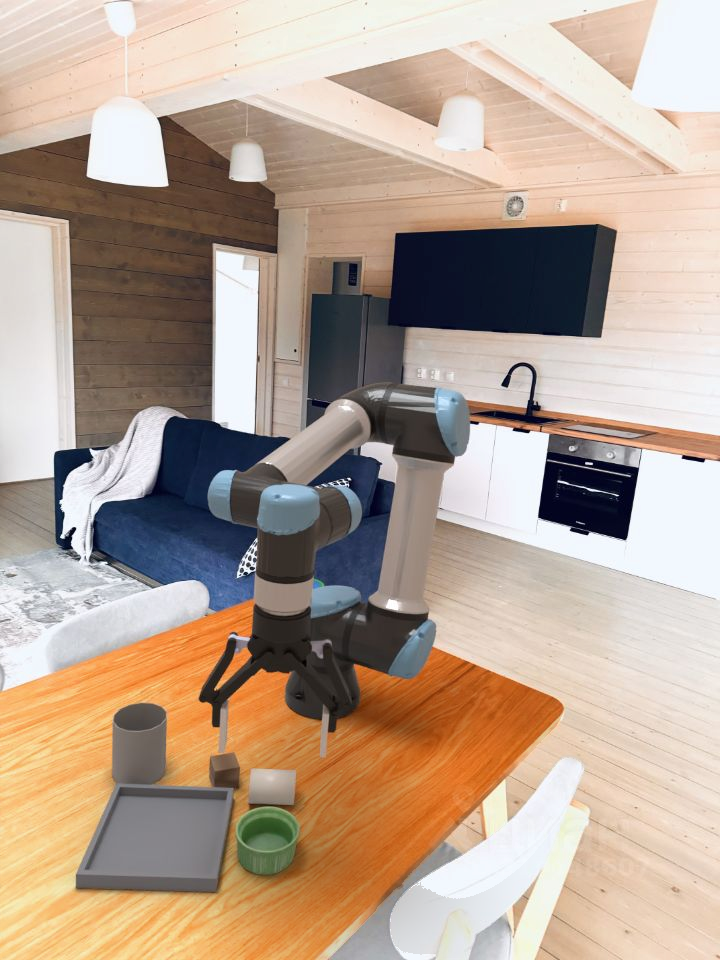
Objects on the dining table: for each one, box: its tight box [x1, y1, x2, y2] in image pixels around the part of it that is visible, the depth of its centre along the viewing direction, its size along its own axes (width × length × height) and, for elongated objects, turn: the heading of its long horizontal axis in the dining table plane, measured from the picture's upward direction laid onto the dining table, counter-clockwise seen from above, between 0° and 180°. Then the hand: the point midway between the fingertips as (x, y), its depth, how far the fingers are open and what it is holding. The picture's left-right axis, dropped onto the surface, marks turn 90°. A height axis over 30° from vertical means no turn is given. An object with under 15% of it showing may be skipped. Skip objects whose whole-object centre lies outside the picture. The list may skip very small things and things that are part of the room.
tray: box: [75, 782, 235, 893], centre depth 98 cm, size 18×18×2 cm
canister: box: [247, 768, 297, 806], centre depth 108 cm, size 7×5×5 cm
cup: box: [111, 702, 168, 785], centre depth 112 cm, size 8×8×10 cm
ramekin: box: [234, 806, 301, 876], centre depth 97 cm, size 9×9×4 cm
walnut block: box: [208, 751, 241, 790], centre depth 111 cm, size 4×4×4 cm
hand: (272, 749), depth 94 cm, fingers open, 13 cm apart
